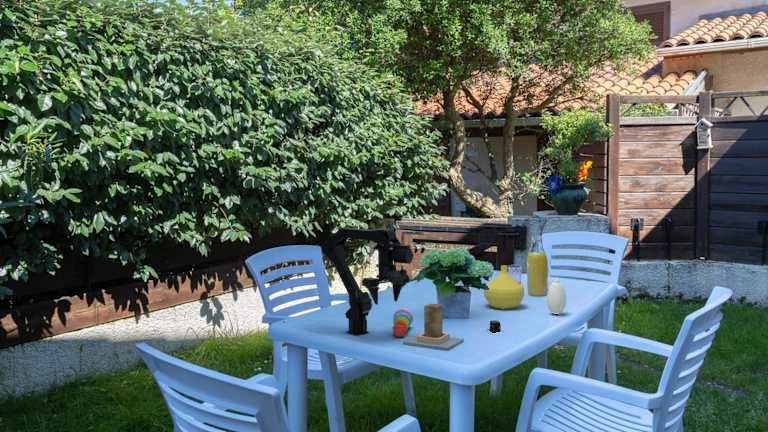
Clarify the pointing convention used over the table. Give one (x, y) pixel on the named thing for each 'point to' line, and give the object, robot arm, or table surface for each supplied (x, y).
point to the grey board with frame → (434, 342)
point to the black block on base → (495, 326)
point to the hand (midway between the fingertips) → (386, 302)
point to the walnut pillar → (433, 320)
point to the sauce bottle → (556, 297)
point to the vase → (504, 291)
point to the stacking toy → (402, 321)
